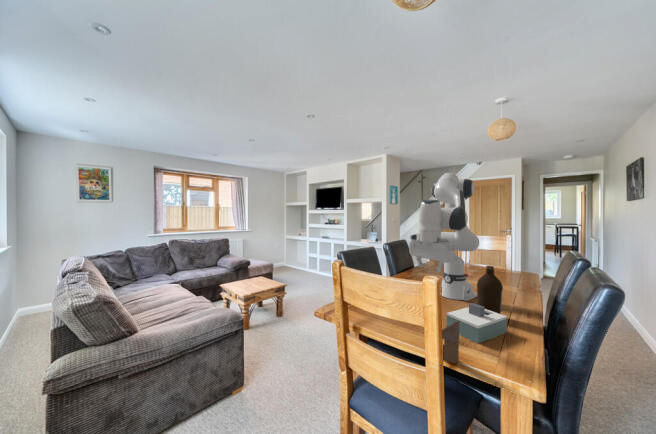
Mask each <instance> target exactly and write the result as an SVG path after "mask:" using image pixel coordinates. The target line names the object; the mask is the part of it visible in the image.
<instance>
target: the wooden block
mask: <svg viewBox="0 0 656 434" xmlns="http://www.w3.org/2000/svg"><path fill="white" fill-rule="evenodd" d="M441 331H442V338H441V339H442V340H444V342H443V343H442V344H443V359H442V360H445V361H447V362H449V363H450V364H454V365H455V364H456V363H458V361H459V355H460V354H459V353H460V349H459V348H460V347H459V346H460V345H459V344H460V341H459V340H460V335H459V320H458V321H456V322H455V323H453V324H451V325H450V326H448V327H447V326H446V327H445V328H443V329H442V330H441Z"/></svg>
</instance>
